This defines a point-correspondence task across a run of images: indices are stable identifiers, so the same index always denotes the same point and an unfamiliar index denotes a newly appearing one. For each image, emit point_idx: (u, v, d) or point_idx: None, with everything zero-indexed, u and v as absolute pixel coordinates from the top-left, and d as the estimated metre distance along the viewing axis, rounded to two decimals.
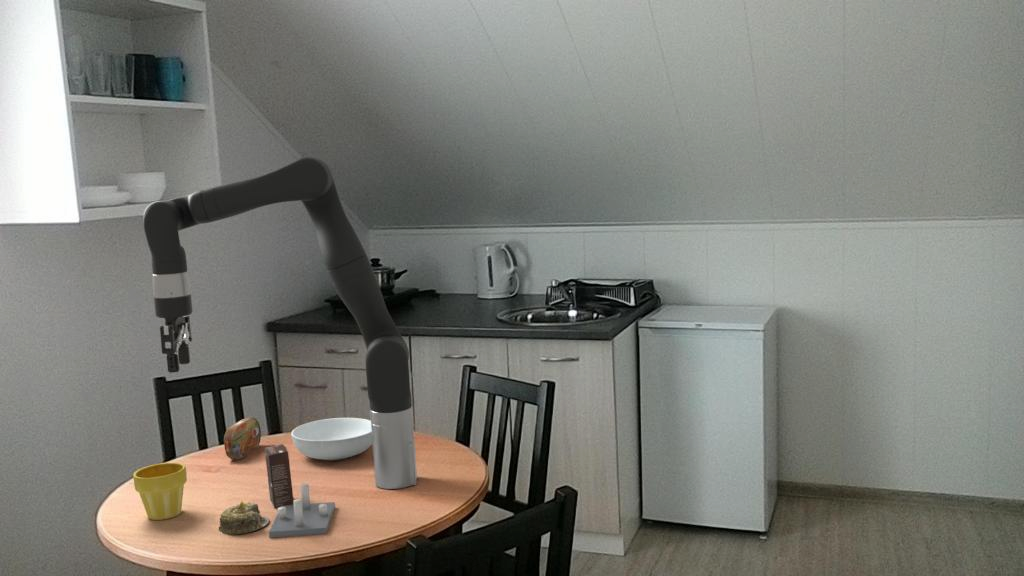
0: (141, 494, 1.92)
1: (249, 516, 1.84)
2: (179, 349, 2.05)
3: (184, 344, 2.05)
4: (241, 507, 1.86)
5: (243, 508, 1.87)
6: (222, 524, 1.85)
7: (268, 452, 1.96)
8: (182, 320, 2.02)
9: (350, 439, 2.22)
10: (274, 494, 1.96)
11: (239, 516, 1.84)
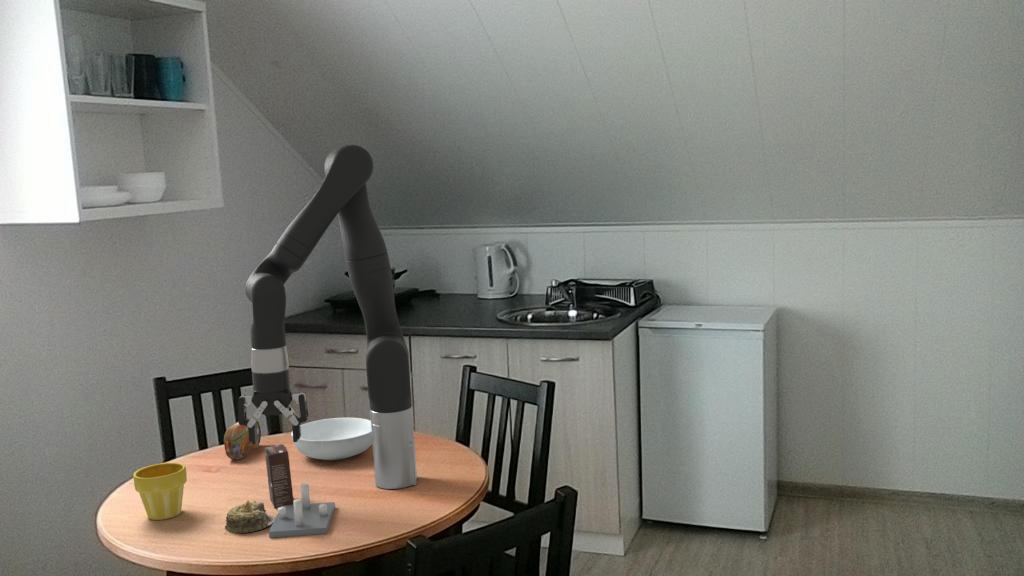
0: (141, 494, 1.92)
1: (255, 515, 1.84)
2: (254, 429, 1.96)
3: (254, 423, 1.97)
4: (247, 506, 1.87)
5: (249, 507, 1.87)
6: (228, 523, 1.85)
7: (268, 452, 1.96)
8: None
9: (350, 439, 2.22)
10: (274, 494, 1.96)
11: (245, 515, 1.84)
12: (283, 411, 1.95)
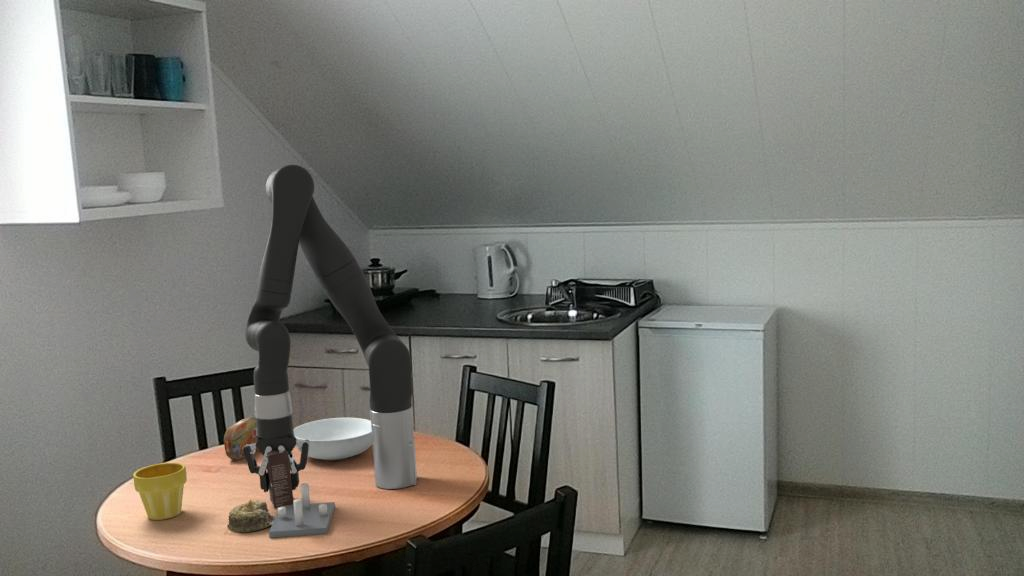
0: (141, 494, 1.92)
1: (257, 514, 1.85)
2: (266, 476, 1.97)
3: (265, 470, 1.98)
4: (250, 505, 1.87)
5: (252, 506, 1.87)
6: (231, 522, 1.85)
7: None
8: None
9: (350, 439, 2.22)
10: (274, 494, 1.96)
11: (247, 514, 1.84)
12: None
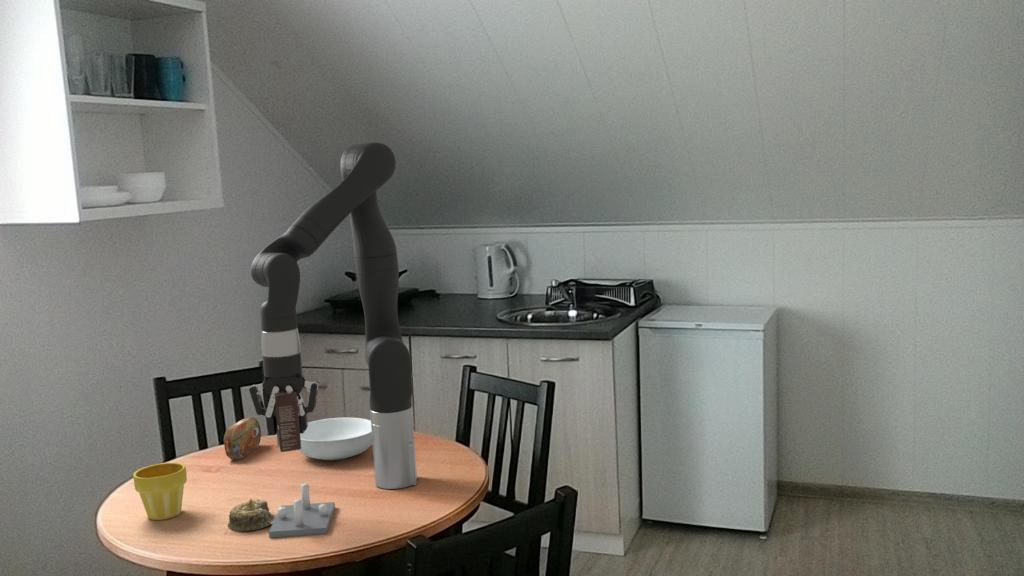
0: (141, 494, 1.92)
1: (257, 513, 1.85)
2: (273, 419, 1.88)
3: (273, 412, 1.89)
4: (250, 504, 1.88)
5: (252, 505, 1.88)
6: (231, 521, 1.86)
7: (276, 393, 1.86)
8: None
9: (350, 439, 2.22)
10: (281, 437, 1.86)
11: (248, 513, 1.85)
12: None
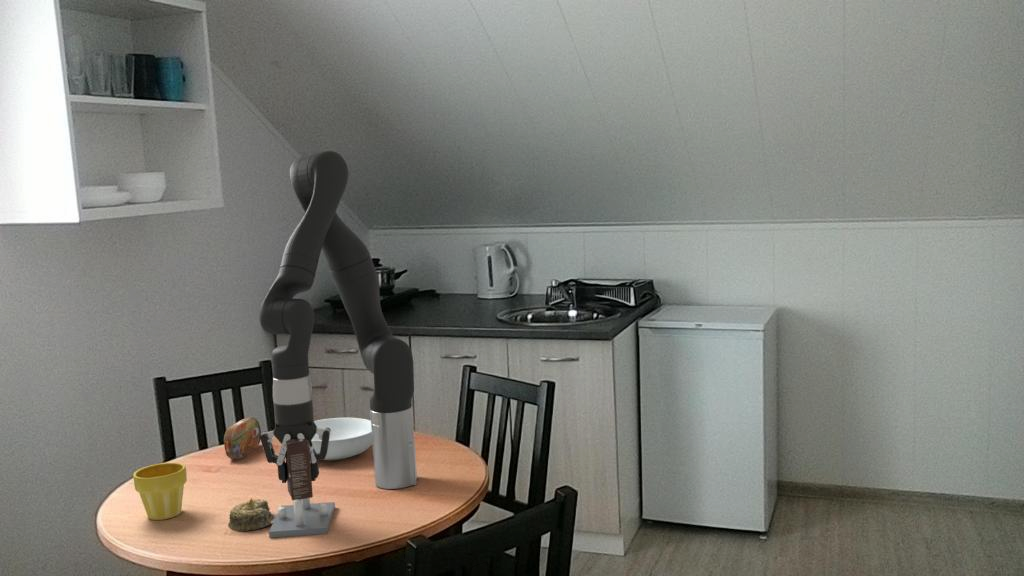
0: (141, 494, 1.92)
1: (258, 513, 1.85)
2: (284, 466, 1.85)
3: (284, 459, 1.86)
4: (250, 504, 1.88)
5: (252, 505, 1.88)
6: (231, 520, 1.86)
7: None
8: None
9: (350, 439, 2.22)
10: (292, 485, 1.83)
11: (248, 513, 1.85)
12: None
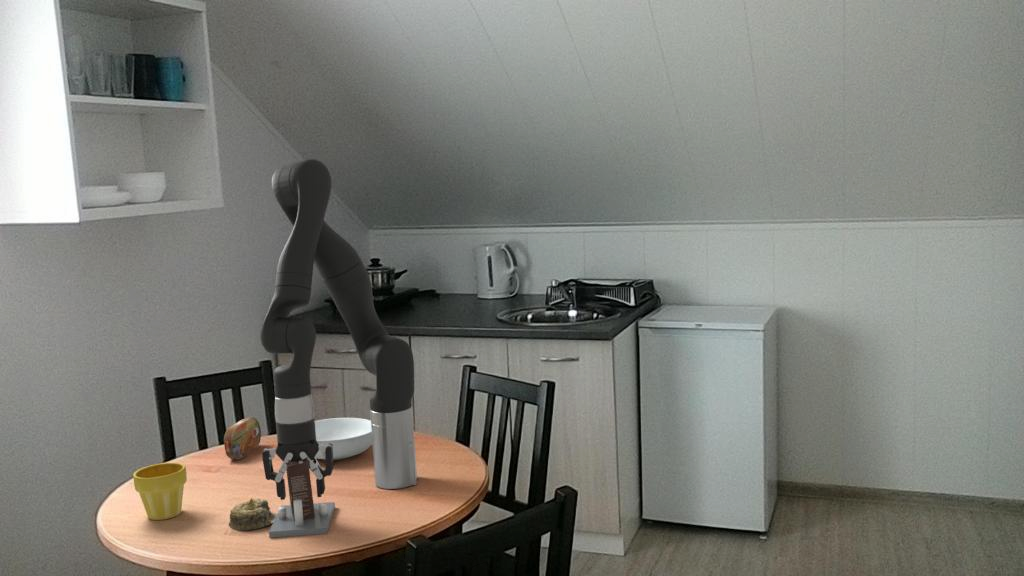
0: (141, 494, 1.92)
1: (258, 513, 1.86)
2: (283, 483, 1.86)
3: (282, 476, 1.87)
4: (251, 503, 1.88)
5: (253, 504, 1.88)
6: (232, 520, 1.86)
7: None
8: None
9: (350, 439, 2.22)
10: None
11: (248, 512, 1.85)
12: (308, 463, 1.84)
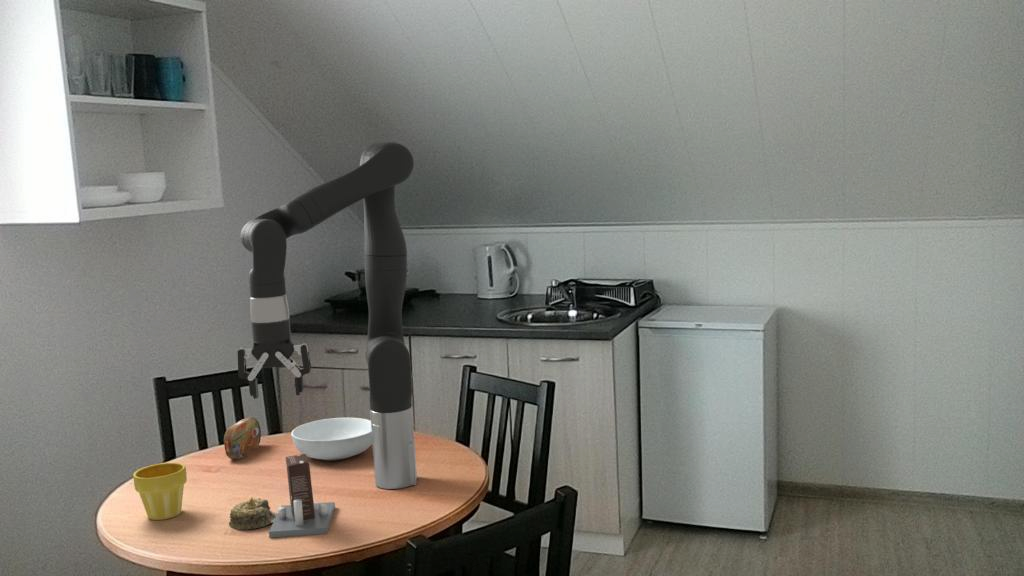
0: (141, 494, 1.92)
1: (258, 512, 1.86)
2: (255, 382, 1.88)
3: (255, 376, 1.89)
4: (251, 503, 1.89)
5: (253, 504, 1.89)
6: (232, 519, 1.87)
7: (288, 462, 1.84)
8: None
9: (350, 439, 2.22)
10: None
11: (249, 512, 1.86)
12: (285, 362, 1.88)
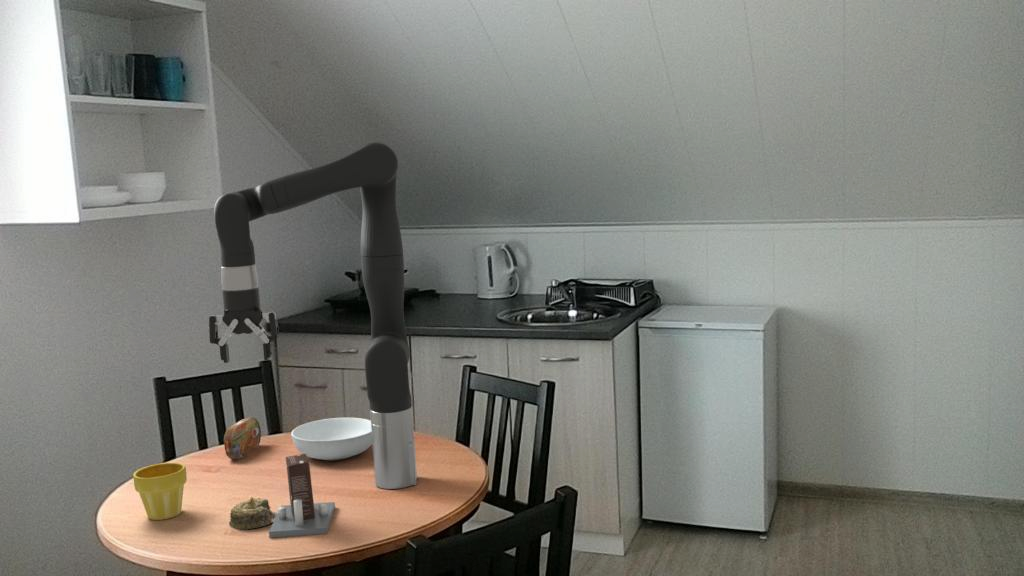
0: (141, 494, 1.92)
1: (258, 512, 1.86)
2: (226, 347, 1.99)
3: (226, 342, 2.00)
4: (251, 502, 1.89)
5: (253, 503, 1.89)
6: (232, 519, 1.87)
7: (288, 462, 1.84)
8: None
9: (350, 439, 2.22)
10: None
11: (249, 511, 1.86)
12: (254, 329, 1.98)
